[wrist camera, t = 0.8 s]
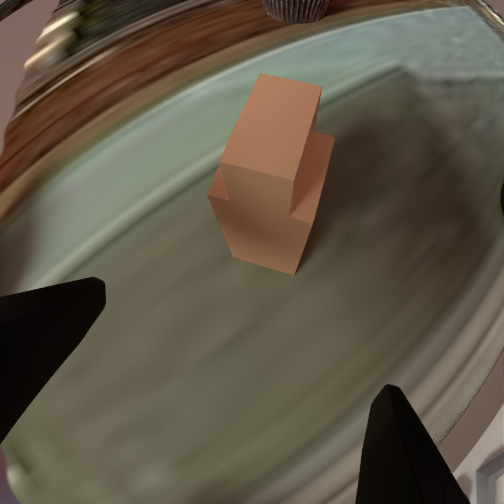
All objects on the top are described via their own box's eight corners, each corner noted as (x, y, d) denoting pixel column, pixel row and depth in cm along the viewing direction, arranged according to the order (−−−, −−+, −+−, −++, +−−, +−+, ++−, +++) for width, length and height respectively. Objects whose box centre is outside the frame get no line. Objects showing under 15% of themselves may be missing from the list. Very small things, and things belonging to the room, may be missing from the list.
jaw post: (294, 275, 22) (324, 189, 10) (232, 257, 23) (191, 155, 10) (310, 218, 23) (347, 93, 11) (252, 201, 24) (236, 69, 11)
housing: (461, 568, 12) (477, 584, 8) (365, 519, 16) (379, 543, 12) (565, 435, 15) (588, 439, 11) (504, 347, 19) (534, 344, 15)
